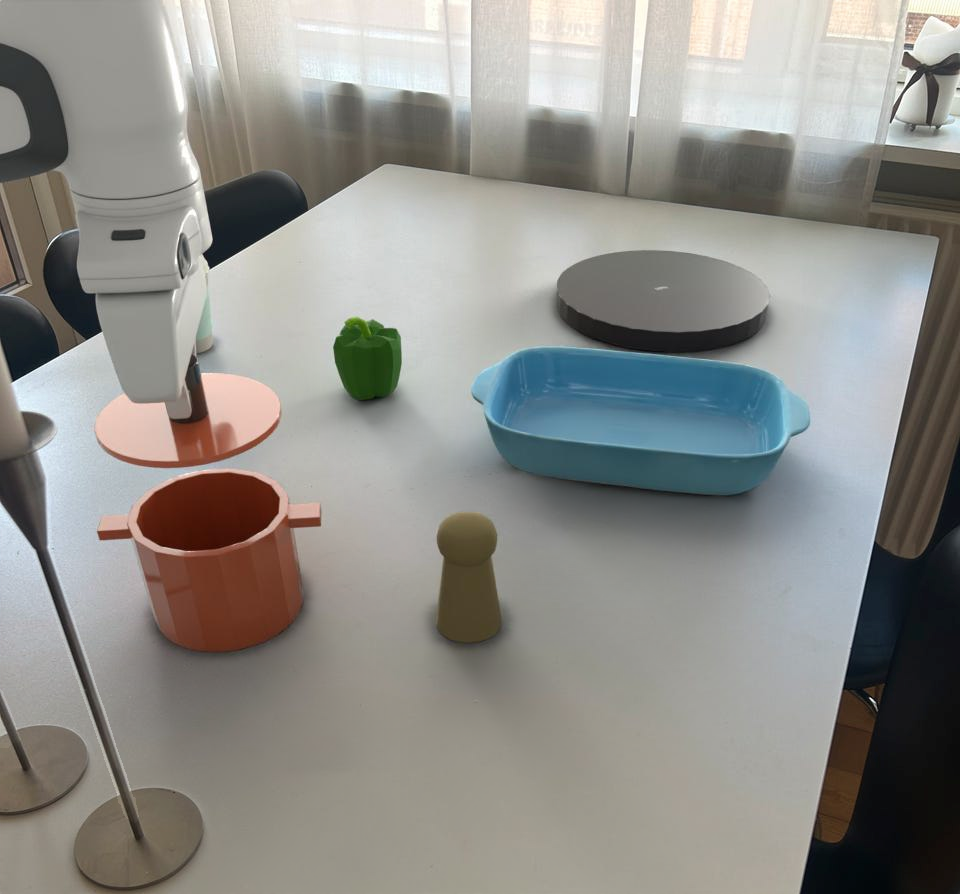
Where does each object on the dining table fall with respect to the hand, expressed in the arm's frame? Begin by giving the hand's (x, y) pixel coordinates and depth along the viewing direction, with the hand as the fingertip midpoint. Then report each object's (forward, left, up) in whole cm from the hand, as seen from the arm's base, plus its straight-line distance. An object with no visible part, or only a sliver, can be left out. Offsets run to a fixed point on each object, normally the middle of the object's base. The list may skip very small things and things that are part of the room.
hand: (184, 400), depth 80 cm
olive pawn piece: (+22, -5, -21) cm, 31 cm away
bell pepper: (+14, +41, -21) cm, 48 cm away
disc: (+56, +62, -21) cm, 86 cm away
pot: (0, 0, -21) cm, 21 cm away
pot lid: (0, 0, -2) cm, 2 cm away
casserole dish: (+43, +23, -21) cm, 54 cm away
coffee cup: (-10, +57, -21) cm, 62 cm away
